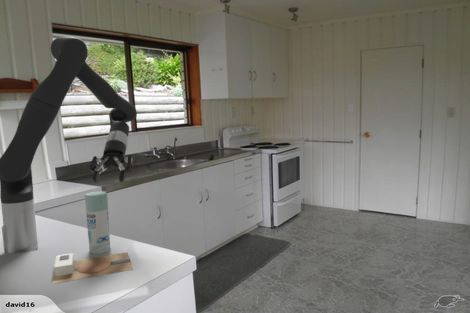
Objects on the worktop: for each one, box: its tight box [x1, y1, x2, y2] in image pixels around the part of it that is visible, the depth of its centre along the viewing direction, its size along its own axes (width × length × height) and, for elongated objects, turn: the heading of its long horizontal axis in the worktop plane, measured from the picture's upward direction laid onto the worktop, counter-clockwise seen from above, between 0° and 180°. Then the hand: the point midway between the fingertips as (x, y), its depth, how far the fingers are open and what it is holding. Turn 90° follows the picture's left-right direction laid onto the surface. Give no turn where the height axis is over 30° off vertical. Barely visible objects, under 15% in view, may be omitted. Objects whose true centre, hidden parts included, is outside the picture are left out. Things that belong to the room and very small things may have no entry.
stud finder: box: [53, 252, 75, 277], centre depth 100 cm, size 9×4×3 cm, turn 23°
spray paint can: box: [84, 190, 111, 255], centre depth 113 cm, size 6×6×20 cm
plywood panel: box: [52, 251, 134, 285], centre depth 102 cm, size 20×14×2 cm
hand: (108, 181), depth 122 cm, fingers open, 8 cm apart
